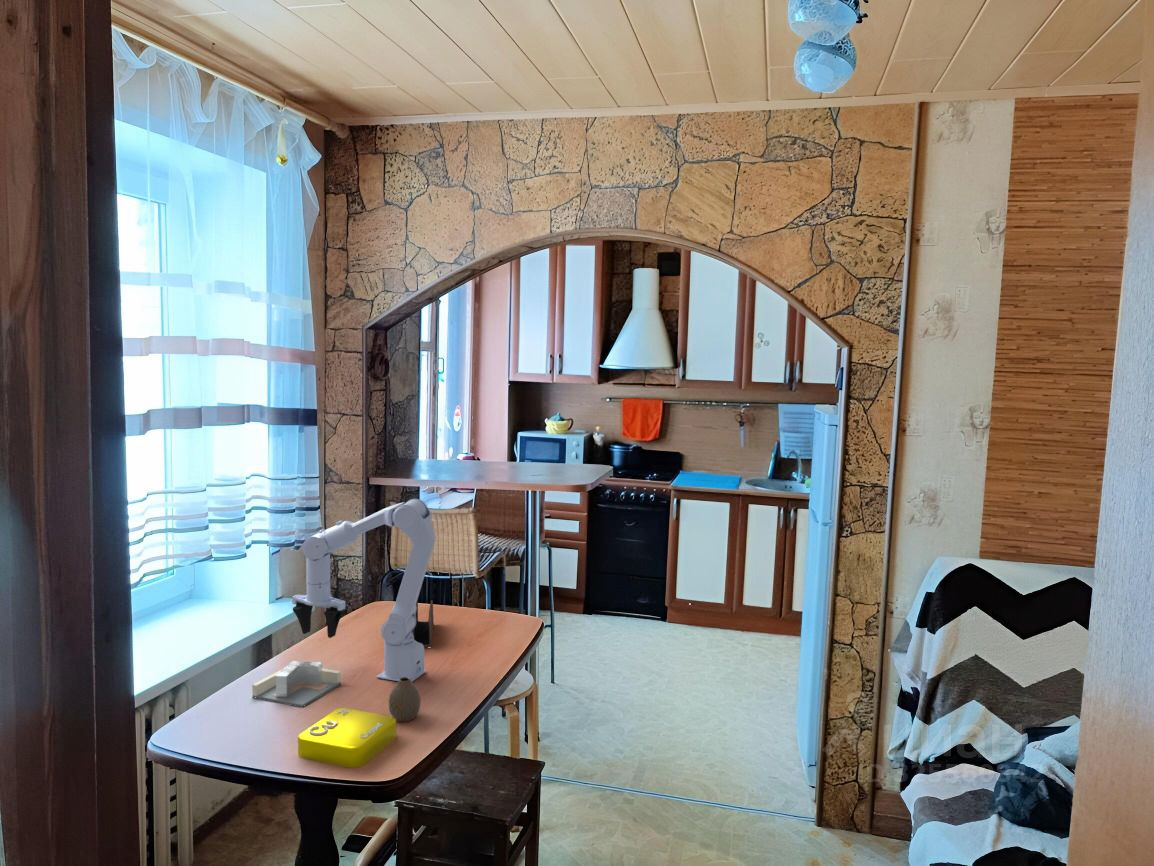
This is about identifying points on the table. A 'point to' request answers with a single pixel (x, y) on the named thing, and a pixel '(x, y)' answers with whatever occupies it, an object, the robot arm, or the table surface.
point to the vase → (404, 700)
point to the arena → (296, 689)
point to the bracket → (298, 677)
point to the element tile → (347, 737)
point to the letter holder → (424, 628)
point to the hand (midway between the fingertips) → (319, 634)
